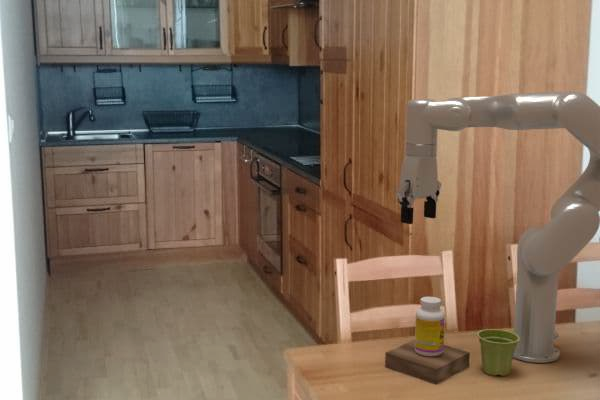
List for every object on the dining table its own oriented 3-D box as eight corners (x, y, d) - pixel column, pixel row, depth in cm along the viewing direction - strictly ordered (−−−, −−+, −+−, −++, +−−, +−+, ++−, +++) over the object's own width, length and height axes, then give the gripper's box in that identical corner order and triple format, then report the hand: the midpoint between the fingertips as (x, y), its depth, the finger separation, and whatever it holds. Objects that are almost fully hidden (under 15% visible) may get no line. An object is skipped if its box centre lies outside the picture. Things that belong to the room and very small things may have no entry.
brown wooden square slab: (419, 351, 187) (419, 337, 186) (469, 366, 177) (469, 352, 177) (385, 366, 177) (385, 352, 176) (435, 384, 167) (436, 369, 167)
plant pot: (489, 360, 181) (491, 325, 180) (524, 371, 175) (527, 335, 173) (467, 371, 175) (469, 335, 173) (503, 383, 168) (505, 346, 167)
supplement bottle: (442, 358, 173) (445, 304, 170) (413, 356, 174) (415, 302, 172) (443, 348, 179) (445, 296, 177) (415, 346, 180) (417, 294, 178)
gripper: (428, 147, 190) (425, 213, 193) (386, 152, 178) (384, 223, 181) (453, 149, 185) (450, 217, 188) (412, 154, 173) (410, 227, 176)
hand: (418, 220), depth 185 cm, fingers open, 9 cm apart
